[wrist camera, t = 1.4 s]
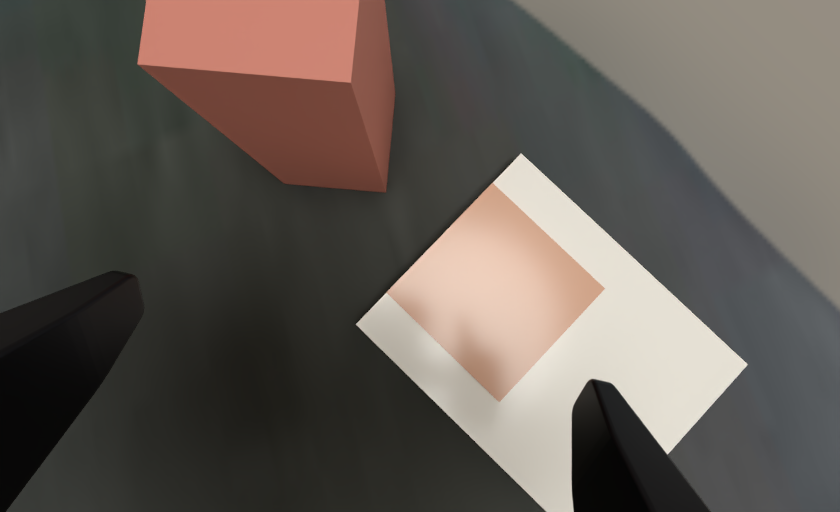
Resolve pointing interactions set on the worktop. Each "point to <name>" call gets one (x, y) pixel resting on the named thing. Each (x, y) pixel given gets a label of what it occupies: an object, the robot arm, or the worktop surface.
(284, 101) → the block
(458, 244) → the board
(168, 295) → the worktop surface
